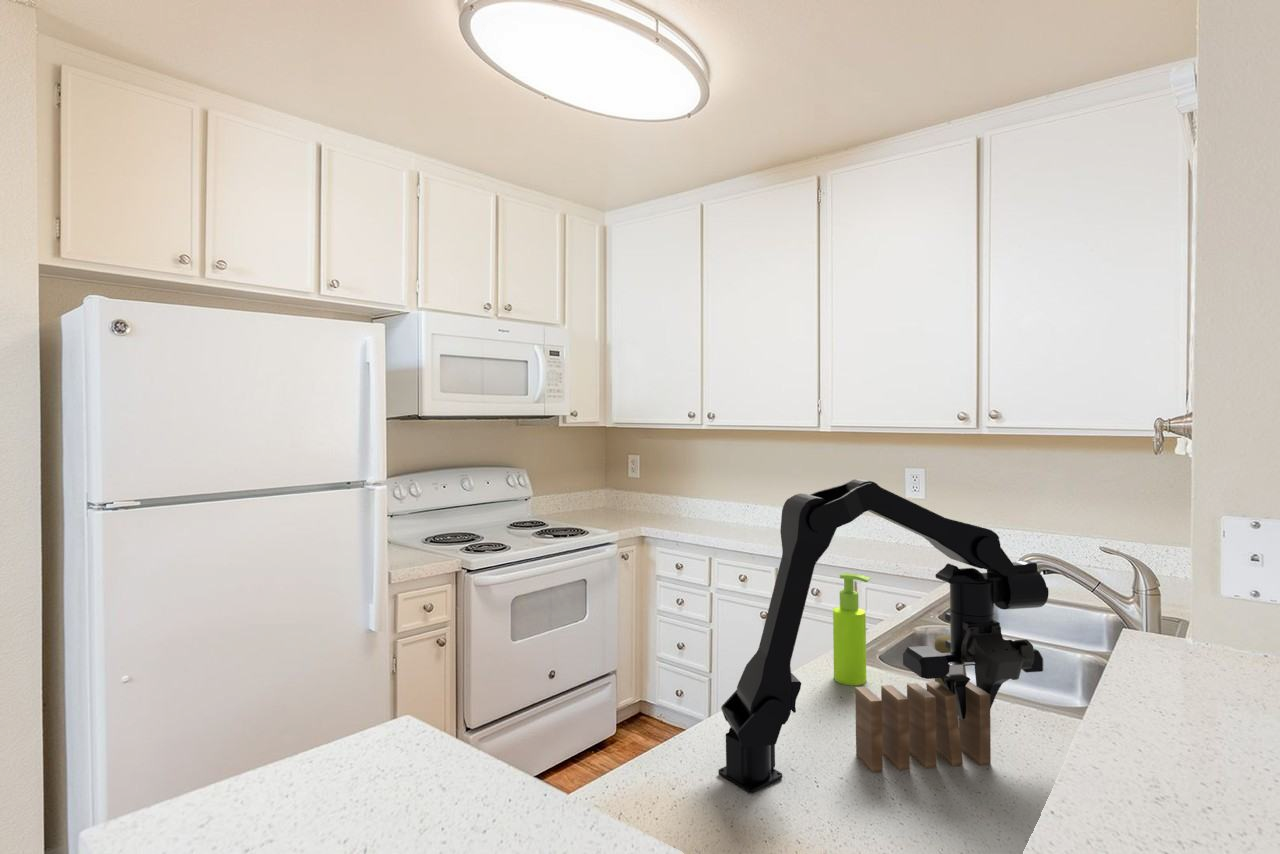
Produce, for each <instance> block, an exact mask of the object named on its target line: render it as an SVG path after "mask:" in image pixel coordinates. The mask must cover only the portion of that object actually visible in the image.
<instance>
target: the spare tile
mask: <svg viewBox="0 0 1280 854" xmlns="http://www.w3.org/2000/svg"><path fill="white" fill-rule="evenodd" d="M965 688H966V716H965V719H962V718H960V717H959V716H958V722H959V731H960V741H961V750H962V753H964V754H965V755H966V756H968V757H969V758H970V759H971V760H973V761H974V762H975V763H977V764H978V766H990V765H992V763H991V761H992V760H991V755H992V751H991V749H992V747H991V709H990V694H988V693H987V692H985V691H984V690H982V689H980V688H979V687H977V686H976V684H974V683H972V682H971V680H970V681H969V682H968V683H967V684H966V687H965Z"/></svg>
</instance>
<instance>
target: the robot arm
mask: <svg viewBox="0 0 1280 854" xmlns="http://www.w3.org/2000/svg"><path fill="white" fill-rule="evenodd" d="M866 512H869V513H872V514H873V515H875V516H878V517H879V518H882V519H884V520H886V521H888V522H890V523H893V524H894V525H896V526H899V527H901V528H904V529H905V530H908V531H910V532H912V533H914V534H916V535H919V536H921V537H922V538H924V539H925V540H927V541H928V542H929V543H930V545H932V547H934V548H935V549H936V550H938V551H939V552H940V553H941V554H943V555H945V556H947V557H948V558H949V559H951V560H954V561H957V562H959V563H962V564H965V565H968V566H971V567H966V568H959V567H958V566H957V565H954V564H951V563H946V564H945V566H944V567H943V568H942V569H940V570H939V571H937V572H936V573H935V578H936V579H938V580H940V581H943V582H945V583H947V584H949V609H950V610H949V612H945V613H944V617H945V618H944V619H945V621H947V622H948V623H949V624H950V634H949V635H950V639H951V640H945V641H946V647H947V648H948V649H950V650H951V653H940V652H938V651H937V650H936V649H935V648H933V646H931V645H917V646H907V647H906V648H905V650H904V651H903V653H902V665H903V666H905V667H906V668H907V669H908V670H910V671H911V672H913V674H916V675H917V676H918V677H919V678H922V679H926V680H930V679H935V678H941V680H942V681H943V683H944V685H945V687H946V689H948V690H949V691H951V692H952V693H954V694H955V695H956V702H957V712H958V718H959V717H960V718H962V719H965V716H966V688H965V687H966V684H967V683H968V682H969V681H970V682H971V678H970V677H968V675H967V676H965V675H964V666H965V667H967V666H973V667H974V675H975V685H976V686H977V687H979V688H980V689H982V690H984V691H985V692H987V693H988V694H990V710H991V709H992V706H993V704H994V702H995V699H996V697H997V694H998V692H999V690H1000V688H1001V687H1002V685H1003V684H1004V683H1006V682H1008V681H1009V680H1012V681H1015V680H1019V679H1020V675H1021V673H1022V672H1025V673H1037V672H1042V673H1043V672H1044V657H1043V656H1042V654H1041V652H1040V651H1039V650H1038V649H1036V648H1034V645H1033V644H1032V643H1031V642H1030V641H1029V640H1028V639H1016V640H1012V639H1004V637H1003V634H1002V626H1001V624H1000V622H999V621H997V620H995V617H994V616H995V612H994V609H995V606H996V607H997V608H998V609H1000V610H1017V609H1018V610H1019V609H1034V608H1035V609H1036V608H1042V607H1044V606H1045V604H1047V602H1048V600H1049V592H1050V591H1049V587H1048V586H1047V584H1046V581H1045V579H1044V577H1043V576H1042V574H1041V573H1040V572H1039V571H1038V563H1037V562H1034V561H1031V560H1027V559H1026V560H1025V559H1024V560H1019V561H1013V562H1012V561H1011V559H1010V558H1009V556H1008V555H1007V554H1006V552H1005V551H1004V549H1003V548H1002V547H1001V542H1000V536H999V535H998V534H997V532H995V531H994V530H992V529H990V528H986V527H983V526H978V525H974V524H972V523H971V524H970V523H966V522H962V521H959V520H955V519H951V518H947V517H944V516H943V515H940V514H938V513H936V512H934V511H932V510H929V509H927V508H925V507H924V506H921V505H919V504H917V503H916V502H915V503H914V502H913V501H911V500H909V499H907V498H905V497H902V496H901V495H898V494H896V493H894V492H891V491H890V490H887V489H885V488H883V487H881V486H880V485H879V484H878V483H876V481H872V480H865V479H862V478H855V479H852V480H850V481H848V482H845V483H843V484H841V485H837V486H832V487H829V488H824V489H821V490H818V491H815V492H813V493H810V494H808V493H797V494H794V495H792V496H791V497H788V498H787V499H786V500H785V502H784V503H783V506H782V509H781V520H780V539H781V541H780V542H781V551H782V552H781V553H782V555H781V559H780V564H779V567H778V570H777V575H776V579H775V583H774V587H773V591H772V595H771V597H770V598H771V599H770V602H769V606H768V610H767V613H766V617H765V622H764V627H763V629H762V630H763V631H762V634H761V636H760V637H761V639H760V642H759V645H758V649H757V651H756V653H755V654H754V655H753V656H752V657H751V659H750V660H748V662H747V664H746V665H745V667H744V669H743V671H742V674H741V676H740V679H739V681H738V683H737V686H736V690H735V691H734V692H733V693H732V695H730V697H728V698H727V700H726V701H725V702H724V703H723V704H722V705H721V707H720V708H721V711H722V715H723V717H724V719H725V721H726V722H727V723H728V725H729V726H730V728H729V729H728V732H727V733H725V766H723V767H720V768H719V769H717V770H718V772H717V773H718V775H719V776H720V777H723V778H725V779H726V780H728V781H729V782H731V783H732V784H734V785H736V786H738V787H740V788H741V789H743V790H744V791H746V792H748V793H754V792H757V791H758V790H761V789H762V788H765V787H767V786H770V785H771V784H773V783H775V782H777V781H779V780H781V779H782V778H783V773H782V772H781V771H779V770H777V769H775V768H776V748H775V747H776V744H777V741H778V739H779V735H780V733H781V729H782V726H783V725H785V724H786V723H787V722H788V721H789V720H790V719H789V718H790V716H791V713H793V714H794V713H796V712H797V709H796V701H797V698H798V695H799V693H800V691H801V687H802V682H801V681H800V680H799V679H798V678H797V676H795V675H794V674H793V673H792V667H791V662H792V658H793V653H794V651H795V645H796V641H797V637H798V634H799V631H800V625H801V622H802V618H803V614H804V610H805V607H806V606H805V605H806V602H807V598H808V595H809V590H810V586H811V584H812V583H811V582H812V578H813V575H814V572H815V571H814V570H815V566H816V565H817V562H818V561H819V560H820V558H821V557H822V556H823V555H824V553H825V552H826V551H827V550H828V549H829V547H830V545H831V543H832V540H833V537H834V535H835V533H836V531H837V528H840V527H842V526H844V525H848V524H850V523H851V522H853V521H854V520H856V519H857V518H859V517H860V516H861V515H863V514H864V513H866ZM973 567H974V568H973ZM976 568H978V569H984V570H986V572H981V571H980V570H978V569H976Z"/></svg>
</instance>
